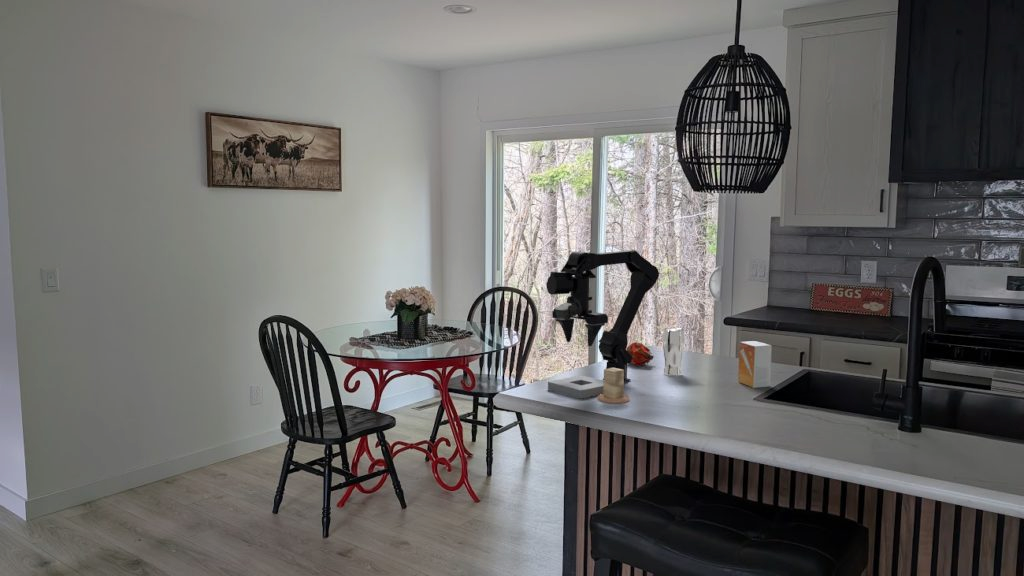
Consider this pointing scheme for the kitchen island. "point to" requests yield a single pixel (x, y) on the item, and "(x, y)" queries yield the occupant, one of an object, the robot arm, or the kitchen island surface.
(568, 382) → the pocket board
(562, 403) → the kitchen island surface
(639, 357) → the dragon fruit
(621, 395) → the beech block
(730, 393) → the kitchen island surface
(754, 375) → the small box
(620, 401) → the coaster
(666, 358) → the beer glass
